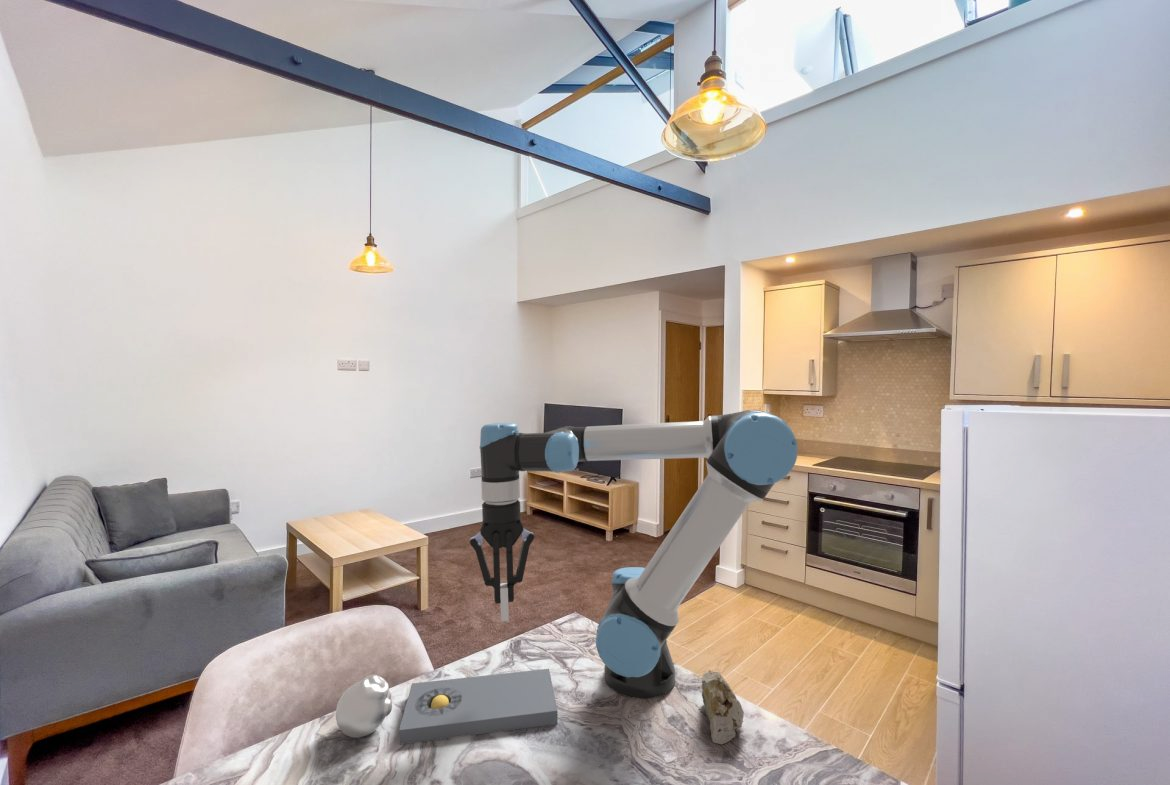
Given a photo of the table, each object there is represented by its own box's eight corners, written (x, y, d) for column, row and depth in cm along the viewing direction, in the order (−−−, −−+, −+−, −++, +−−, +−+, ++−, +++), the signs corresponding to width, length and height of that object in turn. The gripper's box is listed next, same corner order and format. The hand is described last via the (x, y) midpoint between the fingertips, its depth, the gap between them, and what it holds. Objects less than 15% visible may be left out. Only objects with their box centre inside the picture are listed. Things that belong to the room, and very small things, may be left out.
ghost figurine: (372, 753, 85) (371, 695, 85) (324, 745, 87) (324, 688, 87) (402, 719, 94) (402, 666, 94) (358, 712, 96) (358, 660, 96)
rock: (752, 744, 85) (739, 678, 88) (713, 747, 86) (702, 682, 89) (739, 721, 97) (729, 664, 100) (705, 724, 97) (696, 667, 100)
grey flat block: (549, 680, 106) (549, 668, 106) (557, 723, 92) (557, 710, 92) (412, 695, 101) (411, 683, 101) (399, 744, 87) (399, 730, 87)
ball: (450, 690, 97) (432, 690, 96) (448, 704, 94) (430, 705, 93) (449, 705, 97) (431, 705, 97) (447, 720, 94) (428, 720, 94)
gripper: (531, 494, 104) (535, 606, 104) (468, 499, 102) (471, 613, 102) (535, 502, 97) (539, 622, 97) (467, 507, 94) (470, 630, 95)
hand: (504, 617), depth 99 cm, fingers closed
